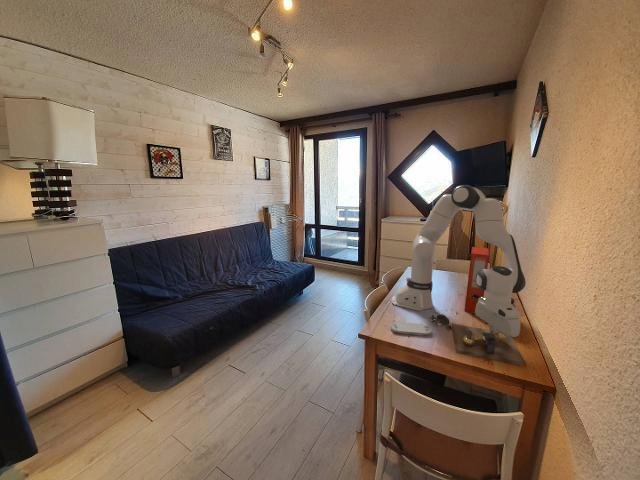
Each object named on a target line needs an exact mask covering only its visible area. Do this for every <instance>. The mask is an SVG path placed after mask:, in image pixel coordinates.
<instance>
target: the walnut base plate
mask: <svg viewBox="0 0 640 480" xmlns="http://www.w3.org/2000/svg"><path fill="white" fill-rule="evenodd" d="M451 328H452V329H451V330H452V336H453V337H452V338H453V342H454V343H453V344H454V350H455V354H461V355H465V356H471V357H475V358H479V359H486V360H490V361H495V362H500V363H505V364H510V365H516V366H521V367H526V361H525V359H524V358H523V356H522V353H521V352H520V350H519V348H518V346H517V344H516V343H515V341H514V339H513V337H509V336H507V335H506V334H504V333H503V332H501V331H500V332H499V333H502V334H503V335H505V336H506V342H502V343H498V346H495V350H494V355H493V354H488V353H486V350H485V348H486V344H482V345H474V346H467V345H465V344H464V343H463V337H464V336H466V335H467V332H468V331H471V332H472V336H473V335H482V334H483V332H484V333H489V332H490V330H489V328H488V329H487V328H482V327H475V326H470V325H464V324H463V325H462V324H456V323H451Z"/></svg>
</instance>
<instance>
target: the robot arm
mask: <svg viewBox="0 0 640 480" xmlns="http://www.w3.org/2000/svg"><path fill="white" fill-rule="evenodd" d="M502 207H503V206H502V203H501V201H500V200H498V199H497V198H491V197H490V198H488V197H487V195H486V194H485V193H484V192H483V191H482V190H480V189H478V188H476V187H473V186H471V185H468V184H461V185H458V186H456V187H455V188H454V189H453V190H452V193H445V194H443V195H442V196H441V197H440V198H439V199H438V200H437V201H436V203H435V205H434V206H433V208H432V209H431V211H430V213H429V215H428V216H427V218H426V220H425V222H424V223H423V225H422V226H421V228H420V229H419V231H418V233H417V234H416V235H415V238H414V239H413V242H412V253H411V267H410V268H411V269H410V277H409V276H407V277H406V284H405V285H403V286H401V287H399V288H398V289H397V291H396V293H395V294H394V295H393V296H392V297H391V303H393V304H394V306H396V305H397V306H398V307H402V308H406V309H410V310H415V311H418V312H421V311H423V310H428V309H433V307H434V304H433V298H432V292H433V271H434V269H433V268H434V262H435V254H436V244H437V243H438V242H439V240H440V239H441V238H442V236H443V235H444V234H445V232H446V231H447V229H448V228H449V226H450V224H451V222H452V221H453V219H454V218H455V216H456V214H458V212H459V211H462V212H470V213H473V214H474V218H475V222H474V224H475V228H474V229H475V234H476V236H477V237H478V238H479V239H481V240H482V241H483V242H486V243H488V244H491V245H494V246H496V247H497V248H499V249H500V250H501V251H502V252H503V256H504V260H505V264H506V267H505V266H501V265H497V266H496V265H495V266H492V267H491V268H487V269H481V270H480V271H479V272H478V273H477V274H476V285H477V286H478V287H479V288H481V289H482V290H484V292H485V291H486V295H485V297H480V298H479V299H478V302H477V305H476V309H475V313H474V314H475V317H478V318H479V319H481V320H483V321H484V322H486V323H487V326H488V330H490V332H489V333H490V334H494V333H499V332H503V333H504V334H506V335H507V336H509V337H512V338H516V337H518V336H519V335H520V333H521V320H520V318H521V317H522V312H520V311H519V310H518V309H517V307H516V308H515V307H514V306H513V305H512V304H511V298H512V296H511V295H512V294H518V293H519V292H521V291H523V290H524V288H525V287H526V281H527V280H526V277H525V275H524V273H523V269H522V266H521V261H520V257H519V252H518V249H517V245H516V242H515V239H514V237H513V235H512V234H510V233H508V231H507V229H506V226H505V222H504V220H505V219H504V211H503V208H502ZM393 304H392V305H393Z"/></svg>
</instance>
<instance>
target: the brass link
mask: <svg viewBox="0 0 640 480" xmlns="http://www.w3.org/2000/svg"><path fill="white" fill-rule="evenodd" d="M494 335H495V337H496V340H497V342H498V343H502V342H506V336H505V335H503V334H502V333H494ZM463 343H464V344H465V345H467V346H474V345H482V344H485V342H484V339H483V336H482V335H473V336H472V332H471V331H468V332H467V335H466V336H464V337H463Z"/></svg>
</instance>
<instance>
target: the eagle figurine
mask: <svg viewBox="0 0 640 480" xmlns="http://www.w3.org/2000/svg"><path fill="white" fill-rule="evenodd" d="M434 314H435V315H436V317H435V316H434V315H433V314H432V315H431V316H429V319H430V320H431V322H432V324H434V323H437V326H438V328H440V327H441V324H443V325H444V326H445V327H446V328H447V329H448V330H452V325H450V320H449V318H448V317H447V316H446V315H444V314H442V313H441V314H440V313H439V314H437V313H436V312H434Z"/></svg>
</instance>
